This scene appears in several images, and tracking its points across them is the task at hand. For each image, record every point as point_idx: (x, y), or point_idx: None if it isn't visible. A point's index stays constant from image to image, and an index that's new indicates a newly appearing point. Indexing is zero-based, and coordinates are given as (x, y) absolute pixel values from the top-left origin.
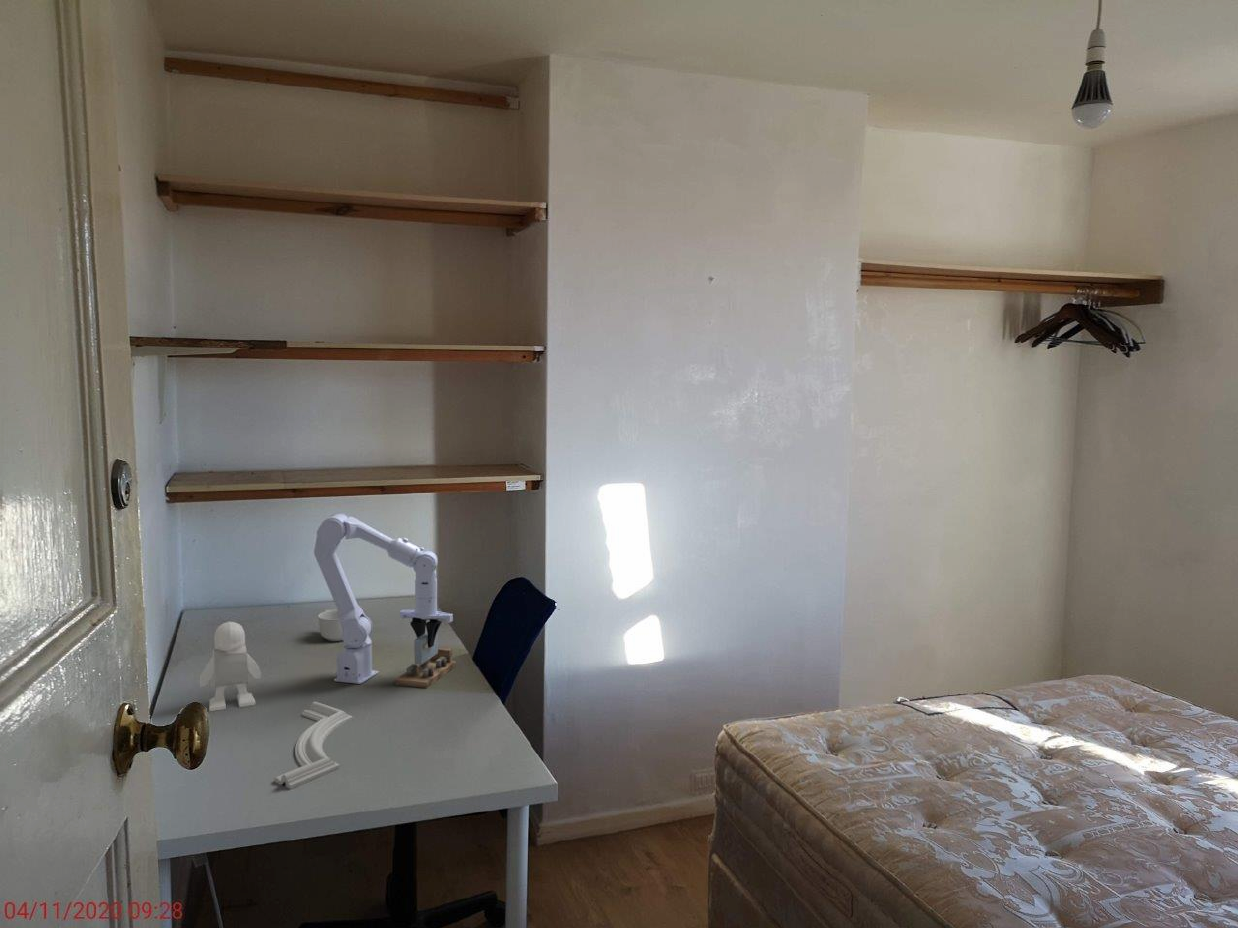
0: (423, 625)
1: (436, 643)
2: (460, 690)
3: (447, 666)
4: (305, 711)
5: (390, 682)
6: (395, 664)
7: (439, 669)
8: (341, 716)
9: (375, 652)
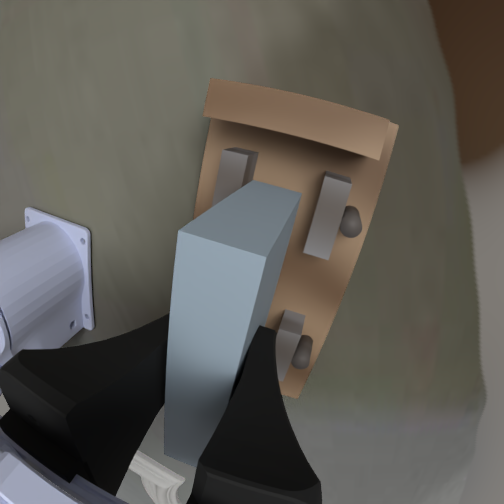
0: (121, 415)
1: (283, 239)
2: (413, 402)
3: (365, 219)
4: None
5: None
6: (109, 122)
7: (329, 263)
8: (169, 487)
9: (36, 24)
